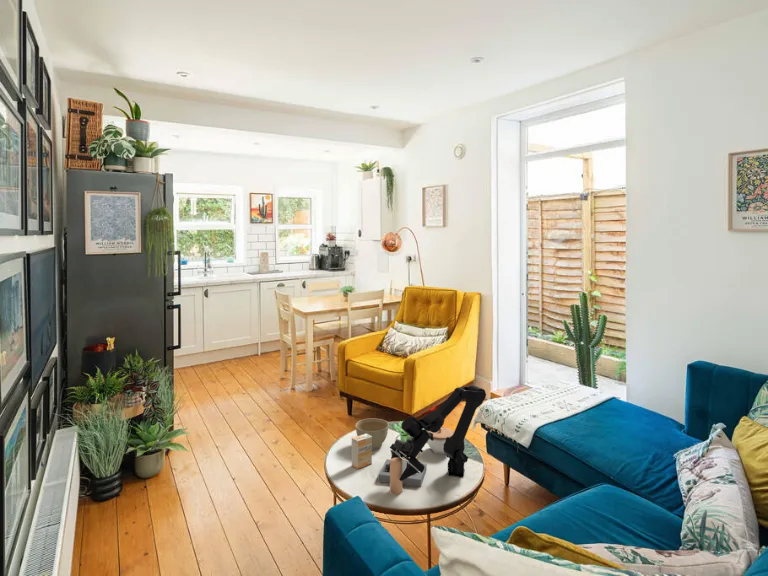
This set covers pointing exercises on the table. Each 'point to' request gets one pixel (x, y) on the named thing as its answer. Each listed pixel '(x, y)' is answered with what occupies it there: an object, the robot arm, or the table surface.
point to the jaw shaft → (395, 476)
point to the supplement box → (361, 451)
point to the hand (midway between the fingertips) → (394, 475)
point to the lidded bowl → (439, 440)
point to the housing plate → (412, 480)
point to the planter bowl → (373, 430)
